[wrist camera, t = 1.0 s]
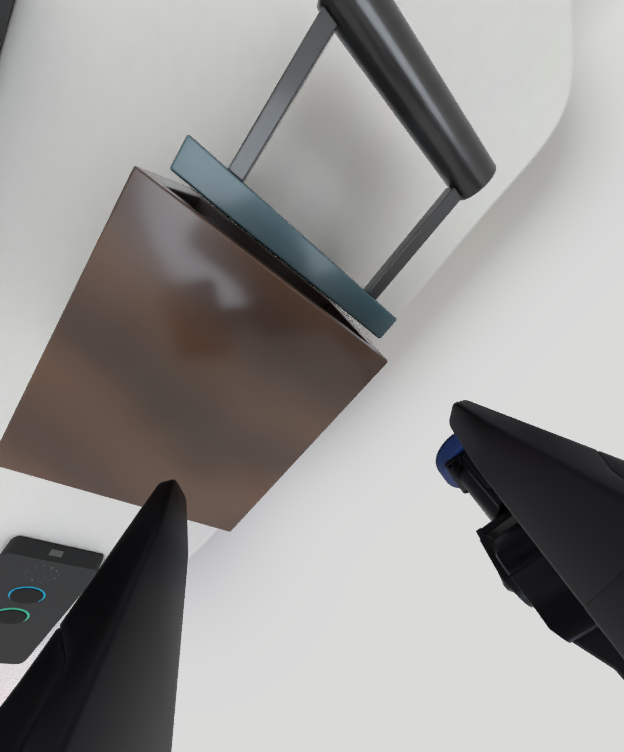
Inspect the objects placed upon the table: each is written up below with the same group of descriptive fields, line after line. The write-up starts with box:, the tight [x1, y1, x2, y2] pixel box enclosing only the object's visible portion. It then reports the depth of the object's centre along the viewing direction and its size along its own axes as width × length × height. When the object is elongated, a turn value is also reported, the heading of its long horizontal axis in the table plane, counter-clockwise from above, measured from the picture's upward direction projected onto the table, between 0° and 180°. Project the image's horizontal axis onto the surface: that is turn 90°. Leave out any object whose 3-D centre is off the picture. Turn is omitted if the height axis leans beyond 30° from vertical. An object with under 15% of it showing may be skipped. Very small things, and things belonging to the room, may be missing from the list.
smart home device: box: [0, 537, 103, 664], centre depth 30 cm, size 8×2×20 cm
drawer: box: [171, 0, 496, 338], centre depth 16 cm, size 19×10×8 cm, turn 141°
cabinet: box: [0, 166, 387, 531], centre depth 17 cm, size 14×12×10 cm
